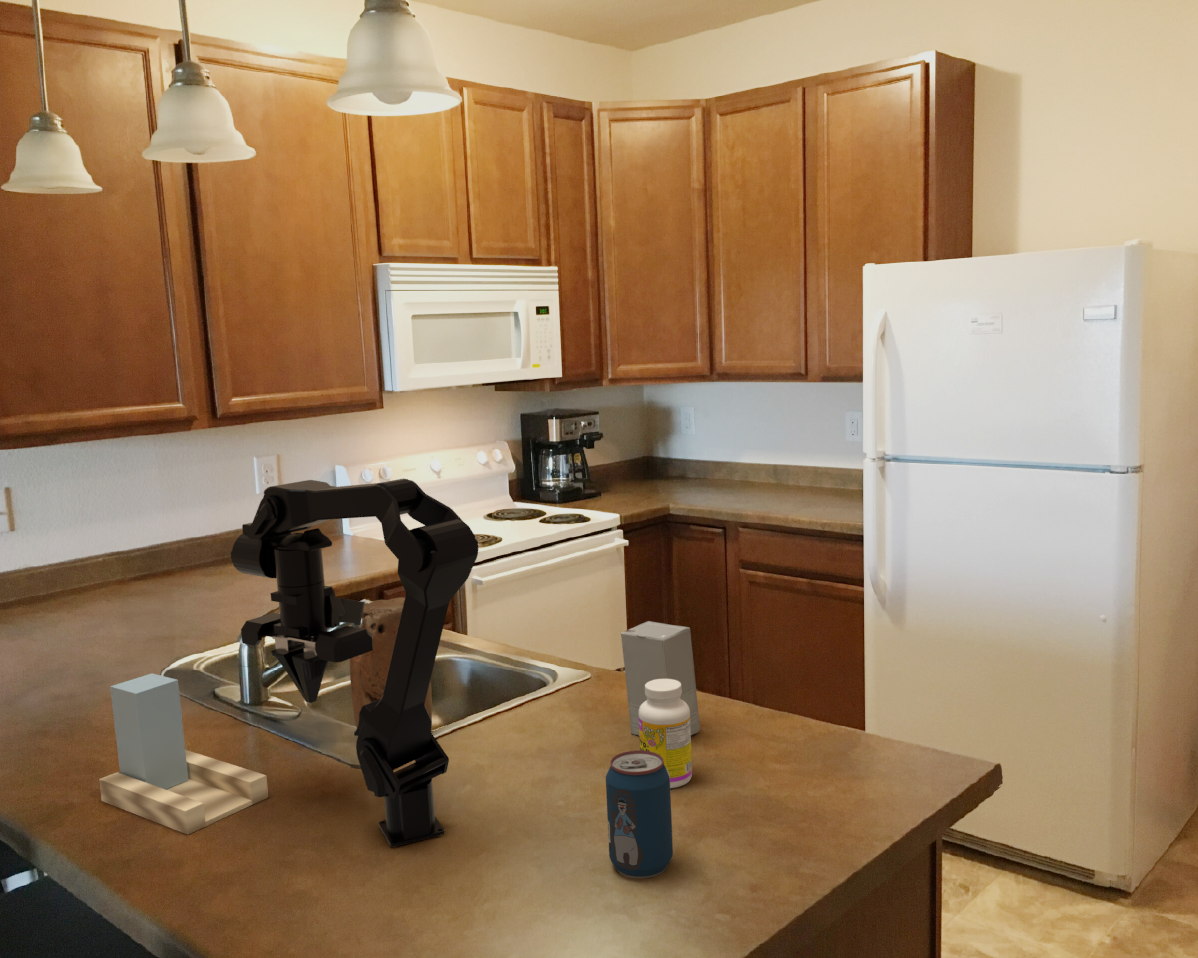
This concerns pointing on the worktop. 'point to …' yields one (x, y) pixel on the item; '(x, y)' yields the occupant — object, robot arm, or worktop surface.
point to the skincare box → (658, 665)
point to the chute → (188, 794)
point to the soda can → (639, 814)
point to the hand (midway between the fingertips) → (311, 701)
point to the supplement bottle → (667, 728)
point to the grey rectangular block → (150, 730)
